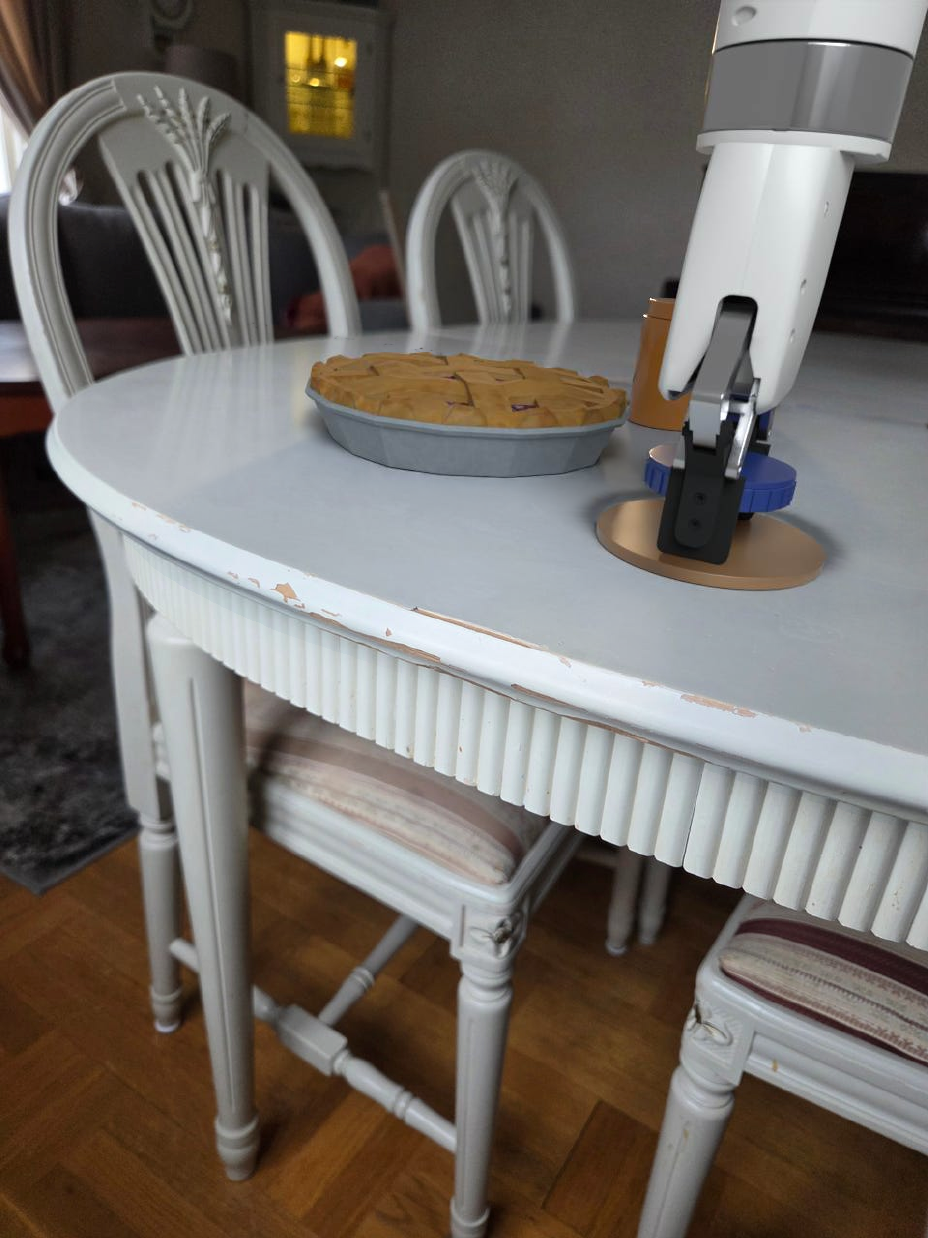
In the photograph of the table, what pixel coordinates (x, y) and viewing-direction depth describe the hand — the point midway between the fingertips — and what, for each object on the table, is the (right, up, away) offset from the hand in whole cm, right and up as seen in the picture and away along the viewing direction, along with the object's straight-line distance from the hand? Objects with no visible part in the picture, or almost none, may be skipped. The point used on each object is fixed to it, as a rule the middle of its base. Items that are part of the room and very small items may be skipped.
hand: (708, 530), depth 41 cm
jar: (+4, +12, +27) cm, 30 cm away
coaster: (0, -1, 0) cm, 1 cm away
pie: (-12, +8, +17) cm, 22 cm away
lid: (0, +3, -1) cm, 3 cm away
